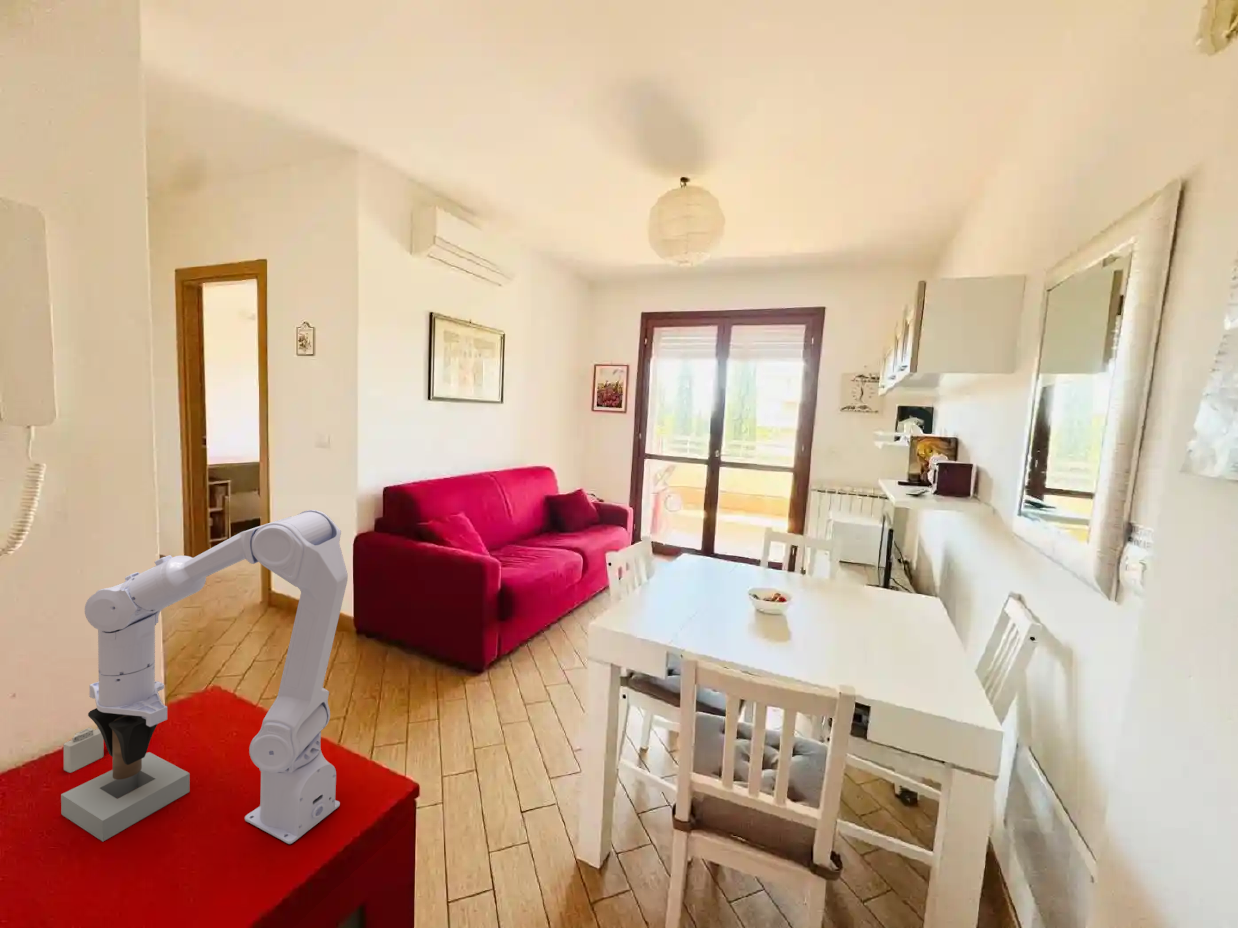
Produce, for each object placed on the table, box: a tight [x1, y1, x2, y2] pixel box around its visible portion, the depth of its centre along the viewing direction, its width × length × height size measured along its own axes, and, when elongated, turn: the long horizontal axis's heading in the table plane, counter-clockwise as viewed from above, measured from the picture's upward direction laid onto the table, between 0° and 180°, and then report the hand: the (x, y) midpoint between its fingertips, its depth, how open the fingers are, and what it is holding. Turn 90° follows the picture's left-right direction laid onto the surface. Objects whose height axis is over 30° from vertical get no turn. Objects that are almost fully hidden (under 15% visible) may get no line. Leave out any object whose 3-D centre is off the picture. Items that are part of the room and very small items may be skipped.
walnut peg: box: [112, 715, 142, 779], centre depth 73 cm, size 3×3×8 cm
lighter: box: [63, 726, 105, 773], centre depth 81 cm, size 7×2×8 cm, turn 163°
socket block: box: [60, 751, 191, 842], centre depth 73 cm, size 10×10×3 cm
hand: (127, 755), depth 73 cm, fingers closed on walnut peg, 3 cm apart
